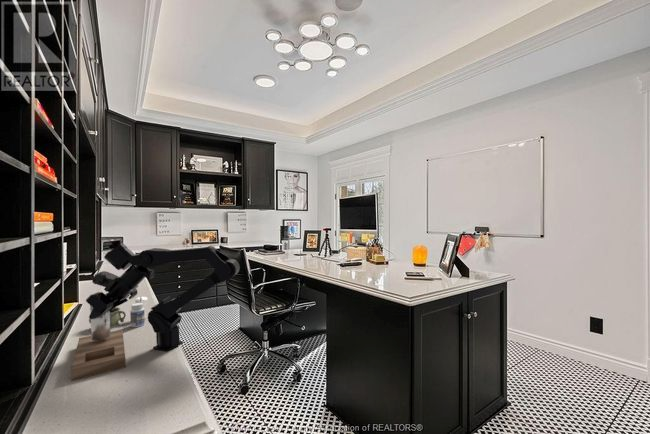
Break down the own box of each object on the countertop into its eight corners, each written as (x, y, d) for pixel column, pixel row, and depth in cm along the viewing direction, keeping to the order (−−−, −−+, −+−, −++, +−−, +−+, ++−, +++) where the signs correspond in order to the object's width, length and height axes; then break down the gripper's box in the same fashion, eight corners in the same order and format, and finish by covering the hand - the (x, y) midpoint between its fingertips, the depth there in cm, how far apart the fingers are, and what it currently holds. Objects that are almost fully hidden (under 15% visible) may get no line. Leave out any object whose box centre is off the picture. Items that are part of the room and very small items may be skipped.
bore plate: (125, 366, 89) (125, 356, 88) (71, 380, 82) (71, 369, 82) (122, 338, 110) (122, 329, 110) (79, 347, 103) (79, 338, 103)
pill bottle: (138, 327, 120) (137, 306, 120) (127, 327, 121) (127, 305, 121) (147, 323, 124) (146, 302, 124) (137, 322, 125) (136, 302, 125)
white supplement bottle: (135, 322, 126) (134, 297, 126) (136, 318, 131) (135, 294, 131) (147, 320, 129) (147, 295, 128) (148, 316, 133) (147, 293, 133)
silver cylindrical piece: (110, 337, 100) (109, 303, 100) (91, 341, 97) (89, 306, 97) (110, 332, 104) (108, 300, 104) (91, 336, 101) (90, 303, 101)
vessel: (127, 320, 129) (126, 305, 129) (125, 326, 121) (124, 310, 121) (91, 325, 123) (90, 310, 123) (86, 333, 116) (86, 316, 116)
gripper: (127, 258, 110) (95, 291, 109) (91, 268, 91) (53, 307, 90) (151, 279, 110) (119, 312, 110) (121, 293, 92) (83, 332, 91)
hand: (95, 315), depth 100 cm, fingers closed on silver cylindrical piece, 5 cm apart
